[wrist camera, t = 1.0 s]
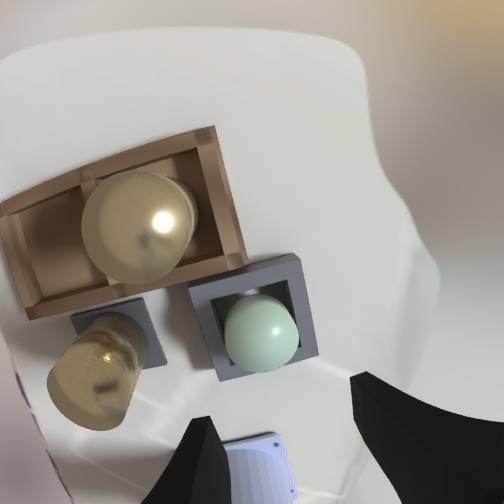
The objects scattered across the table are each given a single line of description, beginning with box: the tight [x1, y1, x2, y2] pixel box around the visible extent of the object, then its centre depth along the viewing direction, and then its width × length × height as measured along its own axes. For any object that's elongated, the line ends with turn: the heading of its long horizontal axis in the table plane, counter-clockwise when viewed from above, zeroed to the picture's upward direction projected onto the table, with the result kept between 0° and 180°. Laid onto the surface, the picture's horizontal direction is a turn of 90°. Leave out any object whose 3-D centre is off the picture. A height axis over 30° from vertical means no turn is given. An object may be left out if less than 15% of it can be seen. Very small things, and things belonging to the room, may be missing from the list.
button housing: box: [188, 253, 319, 382], centre depth 18 cm, size 6×6×2 cm
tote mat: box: [71, 298, 167, 369], centre depth 18 cm, size 4×5×1 cm
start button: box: [224, 294, 299, 373], centre depth 16 cm, size 4×4×2 cm
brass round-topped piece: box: [81, 171, 199, 285], centre depth 14 cm, size 4×4×6 cm
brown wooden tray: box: [0, 125, 249, 321], centre depth 16 cm, size 8×14×2 cm, turn 103°
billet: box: [47, 311, 148, 431], centre depth 15 cm, size 4×4×6 cm
